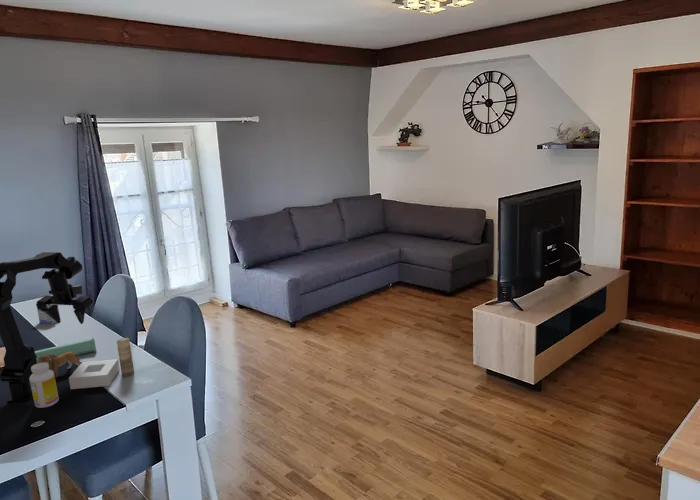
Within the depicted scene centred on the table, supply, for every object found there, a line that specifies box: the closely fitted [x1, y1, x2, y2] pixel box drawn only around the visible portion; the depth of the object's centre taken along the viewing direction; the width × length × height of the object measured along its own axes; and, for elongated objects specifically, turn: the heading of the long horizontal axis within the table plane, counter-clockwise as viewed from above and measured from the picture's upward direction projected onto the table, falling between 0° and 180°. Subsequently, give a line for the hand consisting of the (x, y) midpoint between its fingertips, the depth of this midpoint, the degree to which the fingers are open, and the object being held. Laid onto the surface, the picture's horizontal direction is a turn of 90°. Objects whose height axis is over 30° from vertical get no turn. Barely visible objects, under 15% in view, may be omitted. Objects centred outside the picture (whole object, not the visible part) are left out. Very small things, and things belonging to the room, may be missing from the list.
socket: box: [68, 358, 121, 390], centre depth 175 cm, size 12×12×4 cm
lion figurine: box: [38, 352, 82, 378], centre depth 180 cm, size 15×5×9 cm, turn 151°
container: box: [34, 336, 98, 364], centre depth 192 cm, size 6×6×25 cm
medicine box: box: [36, 306, 61, 325], centre depth 231 cm, size 8×4×9 cm, turn 73°
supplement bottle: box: [29, 362, 60, 409], centre depth 159 cm, size 7×7×13 cm
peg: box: [116, 337, 135, 377], centre depth 177 cm, size 4×4×12 cm
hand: (70, 323), depth 187 cm, fingers open, 9 cm apart
